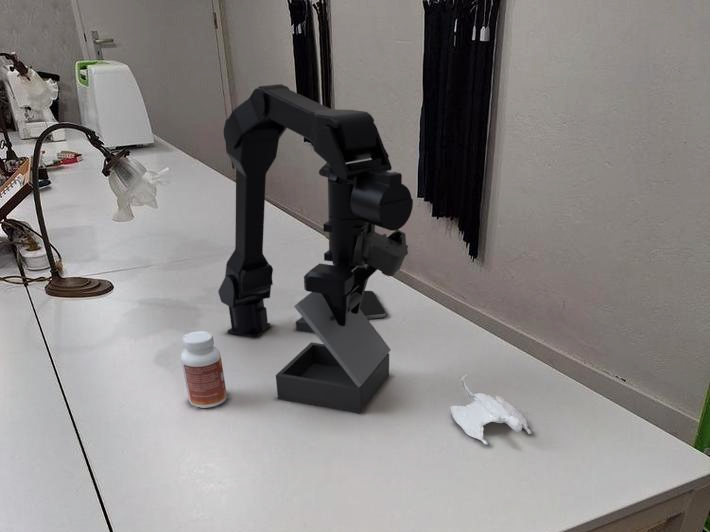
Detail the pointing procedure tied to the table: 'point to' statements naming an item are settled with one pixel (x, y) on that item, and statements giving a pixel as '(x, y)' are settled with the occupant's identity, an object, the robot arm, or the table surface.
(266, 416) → the table surface
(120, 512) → the table surface
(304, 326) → the switch block
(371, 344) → the box lid with handle
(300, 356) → the open square tray
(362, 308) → the smartphone
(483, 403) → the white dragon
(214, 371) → the pill bottle
